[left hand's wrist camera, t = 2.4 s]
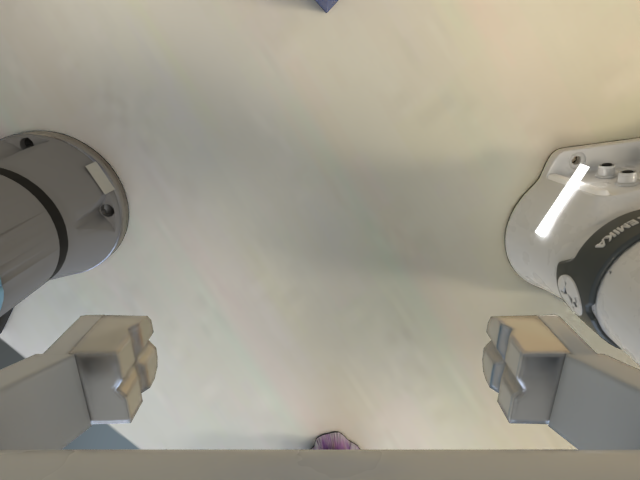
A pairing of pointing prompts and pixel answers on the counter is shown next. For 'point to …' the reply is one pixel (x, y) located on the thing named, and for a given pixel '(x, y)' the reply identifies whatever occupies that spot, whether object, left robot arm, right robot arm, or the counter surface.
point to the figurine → (334, 442)
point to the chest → (326, 4)
